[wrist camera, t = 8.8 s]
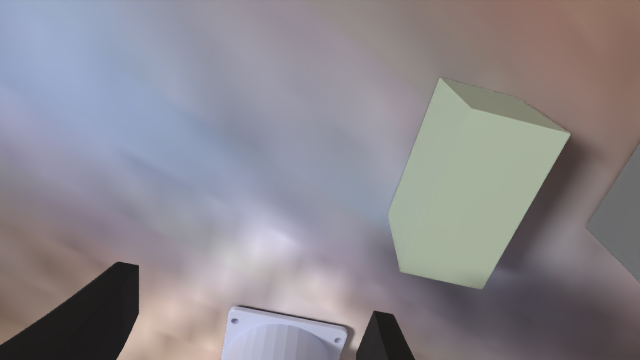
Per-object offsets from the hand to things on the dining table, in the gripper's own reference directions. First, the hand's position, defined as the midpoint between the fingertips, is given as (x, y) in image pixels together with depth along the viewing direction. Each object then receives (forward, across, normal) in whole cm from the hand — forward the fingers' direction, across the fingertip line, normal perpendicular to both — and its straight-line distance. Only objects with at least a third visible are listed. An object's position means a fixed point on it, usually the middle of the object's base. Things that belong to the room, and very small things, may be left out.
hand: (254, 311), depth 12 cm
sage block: (+11, -8, -2) cm, 13 cm away
